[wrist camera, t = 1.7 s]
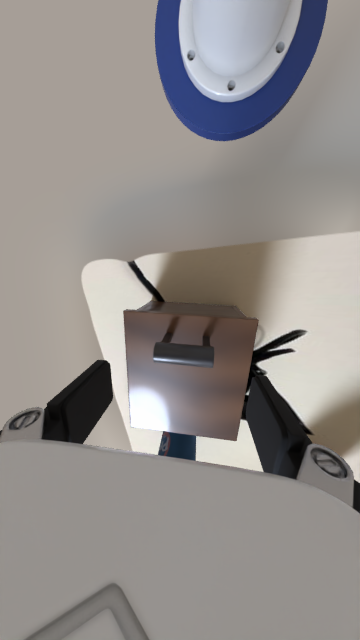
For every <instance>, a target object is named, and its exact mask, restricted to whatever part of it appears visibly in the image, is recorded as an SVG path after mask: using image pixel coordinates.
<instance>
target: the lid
mask: <svg viewBox="0 0 360 640" xmlns="http://www.w3.org/2000/svg"><path fill="white" fill-rule="evenodd" d="M123 312H124V328H125V344H126V360H127V376H128V392H129V408H130V424H131V427H136V428H143V429H151V430H158V431H165V432H173V433H180V434H187V435H195V436H202V437H209V438H217V439H224V440H231V441H237V436H238V430H239V425H240V419H241V414H242V408H243V403H244V397H245V392H246V386H247V381H248V375H249V370H250V364H251V359H252V353H253V348H254V343H255V337H256V332H257V326H258V321H259V320H258V319H257V318H251V317H236V316H220V315H205V314H190V313H174V312H159V311H143V310H128V309H126V310H124V311H123Z"/></svg>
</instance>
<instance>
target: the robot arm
mask: <svg viewBox="0 0 360 640" xmlns="http://www.w3.org/2000/svg"><path fill="white" fill-rule="evenodd" d="M301 6H302V0H181V3H180V11H179V40H180V49H181V56H182V59H183V63H184V67H185V69H186V72H187V74H188V76H189V78H190V80H191V81H192V83H193V84H194V86H195V87H196V88H197V89H198V90H199V91H200V92H201V93H202V94H203V95H205V96H207V97H208V98H210V99H212V100H215V101H219V102H235V101H239V100H242V99H244V98H247V97H249V96H251V95H253V94H254V93H255V92H257V91H258V90H259V89H261V88H262V87H263V86H264V85H265V84H266V83H267V82H268V81H269V80H270V79H271V78H272V76H273V75H274V74H275V72H276V71H277V69H278V68H279V66H280V65H281V63H282V61H283V59H284V57H285V55H286V53H287V52H288V49H289V46H290V44H291V41H292V39H293V37H294V34H295V31H296V27H297V24H298V21H299V17H300V12H301ZM112 399H113V391H112V380H111V368H110V363H108V361H106V360H97V361H96V362H95V363H94V364H92V365H91V366H90V367H89V368H88V369H87V370H85V372H83V373H82V374H81V375H80V376H78V377H77V378H76V379H75V380H74V381H73V382H72V383H70V384H69V385H68V386H67V387H66V388H64V389H63V390H62V391H61V392H60V393H59V394H58V395H56V396H55V397H54V398H53V399H52V400H50V402H48V403H47V407H46V408H45V409H44V410H43V409H42V408H39V407H37V408H30V409H26V410H24V411H22V412H20V413H18V414H16V415H14V416H13V417H12V418H10V419H9V420H8V421H7V422H6V424H5V425H4V427H3V430H1V431H0V640H360V483H358V482H357V481H355V480H354V476H353V472H352V470H351V468H350V466H349V465H348V464H347V463H346V462H345V460H344V459H343V458H341V457H340V456H339V455H338V454H337V453H335V452H334V451H332V450H331V449H329V448H327V447H325V446H322V445H319V444H312V442H311V441H310V439H309V437H308V436H307V434H306V433H305V431H304V430H303V428H302V427H301V425H300V424H299V422H298V421H297V419H296V418H295V416H294V415H293V413H292V412H291V410H290V409H289V407H288V406H287V404H286V403H285V402H284V401H283V400H282V399H281V398H280V396H279V394H278V393H277V391H276V390H275V388H274V387H273V385H272V384H271V382H270V381H269V379H268V378H267V376H260V375H256V376H255V377H253V378H252V382H251V388H250V393H249V398H248V404H247V409H246V418H247V421H248V425H249V428H250V431H251V434H252V437H253V440H254V443H255V446H256V449H257V452H258V456H259V459H260V462H261V465H262V468H263V471H264V472H260V471H254V470H248V469H243V468H237V467H231V466H225V465H218V464H212V463H206V462H199V461H193V460H186V459H180V458H173V457H167V456H160V455H154V454H147V453H140V452H133V451H127V450H119V449H113V448H106V447H99V446H92V445H84V444H83V443H84V441H85V440H86V438H87V437H88V435H89V434H90V432H91V431H92V429H93V428H94V427H95V425H96V424H97V422H98V421H99V419H100V418H101V416H102V415H103V413H104V412H105V410H106V409H107V407H108V406H109V404H110V403H111V401H112Z"/></svg>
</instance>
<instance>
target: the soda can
mask: <svg viewBox="0 0 360 640" xmlns="http://www.w3.org/2000/svg"><path fill="white" fill-rule="evenodd" d="M158 455H160V456H167V457H173V458H180V459H186V460H193V461H195V459H196V436H195V435H187V434H180V433H173V432H165V431H163V435H162V439H161V444H160V448H159V452H158Z"/></svg>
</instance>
